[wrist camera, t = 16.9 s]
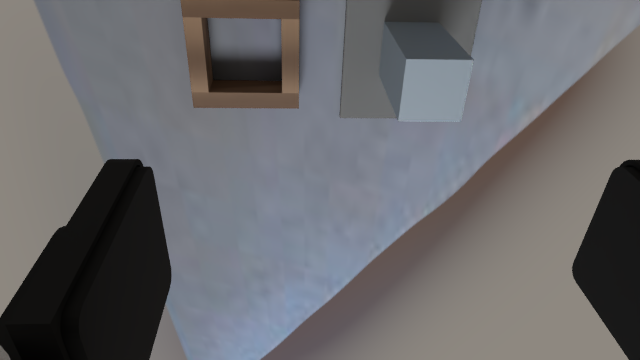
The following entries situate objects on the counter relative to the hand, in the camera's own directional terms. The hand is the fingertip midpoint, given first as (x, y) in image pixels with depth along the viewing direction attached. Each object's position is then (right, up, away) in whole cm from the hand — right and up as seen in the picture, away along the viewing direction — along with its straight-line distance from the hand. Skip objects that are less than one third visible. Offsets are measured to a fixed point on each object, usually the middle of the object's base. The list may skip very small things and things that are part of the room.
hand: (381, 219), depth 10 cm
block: (+7, +13, +35) cm, 38 cm away
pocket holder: (-8, +13, +34) cm, 38 cm away
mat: (+7, +13, +35) cm, 38 cm away
